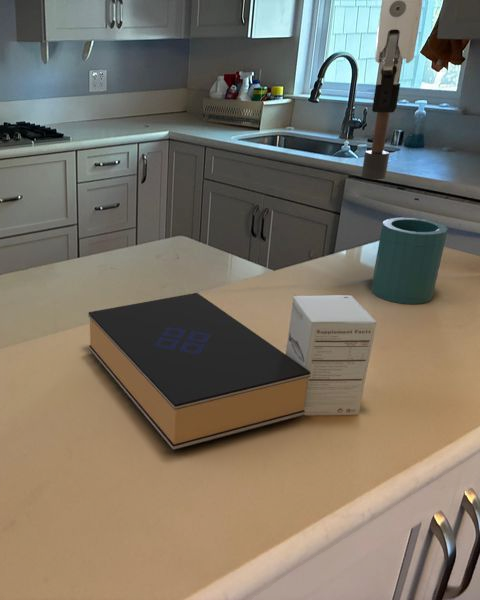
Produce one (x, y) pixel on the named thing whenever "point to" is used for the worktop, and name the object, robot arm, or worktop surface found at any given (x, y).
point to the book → (196, 369)
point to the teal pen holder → (408, 260)
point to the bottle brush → (377, 150)
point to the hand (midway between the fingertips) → (384, 110)
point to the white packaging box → (331, 351)
